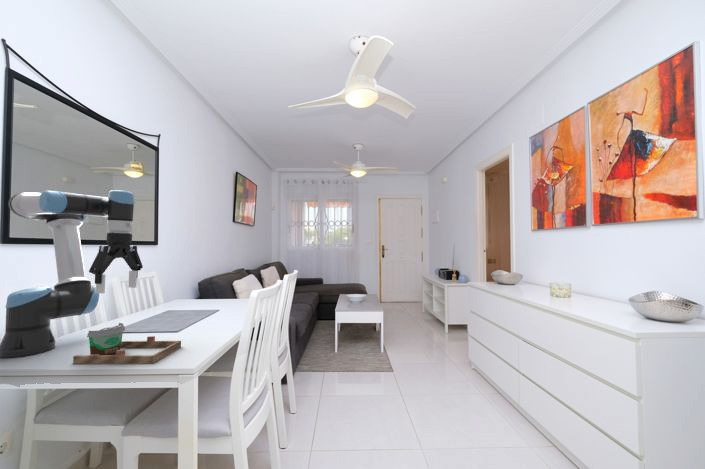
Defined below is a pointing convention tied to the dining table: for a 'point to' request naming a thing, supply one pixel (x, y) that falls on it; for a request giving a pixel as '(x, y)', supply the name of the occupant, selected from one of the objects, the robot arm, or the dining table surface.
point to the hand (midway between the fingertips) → (117, 290)
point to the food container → (106, 340)
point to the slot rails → (123, 358)
